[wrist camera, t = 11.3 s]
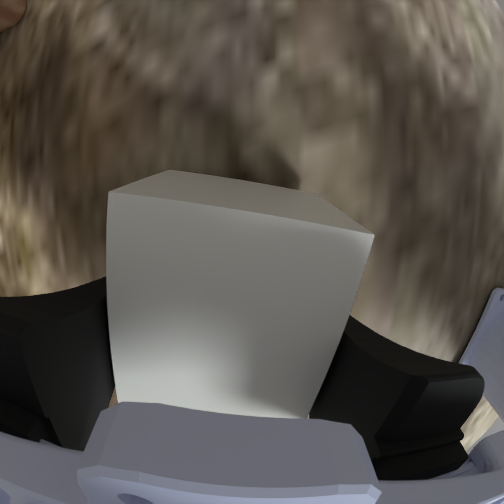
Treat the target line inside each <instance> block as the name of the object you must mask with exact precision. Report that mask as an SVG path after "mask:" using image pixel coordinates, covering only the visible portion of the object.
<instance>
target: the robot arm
mask: <svg viewBox="0 0 504 504" xmlns="http://www.w3.org/2000/svg"><path fill="white" fill-rule="evenodd" d="M114 388H115V379H114V372H113V364H112V356H111V346H110V336H109V323H108V308H107V285H106V277H103V278H101V279H98V280H95V281H92V282H90V283H87V284H84V285H81V286H78V287H75V288H71V289H67V290H63V291H59V292H54V293H47V294H40V295H33V296H21V297H0V504H503V503H504V431H500V432H497V433H495V434H493V435H490V436H488V437H485V438H484V439H483V440H481V441H480V442H479V443H478V444H477V445H476V446H475V447H474V448H473V449H472V451H471V452H470V454H469V455H468V454H467V453H466V451H465V449H464V448H463V446H462V444H461V443H460V440H462V439H463V438H464V434H463V432H462V430H461V429H460V428H461V426H462V425H463V424H464V423H465V421H466V420H467V419H468V417H469V416H470V415H471V413H472V412H473V410H474V409H475V408H476V406H477V405H478V403H479V401H480V400H481V397H482V395H483V396H484V397H485V398H486V399H487V401H488V402H489V403H490V405H491V406H492V407H493V409H494V410H495V411H496V413H497V414H498V415H499V417H500V418H501V419H502V420H503V422H504V289H503V288H495V289H494V290H493V291H492V293H491V296H490V298H489V300H488V303H487V305H486V308H485V310H484V312H483V315H482V317H481V319H480V321H479V323H478V326H477V328H476V330H475V332H474V334H473V336H472V338H471V340H470V342H469V344H468V346H467V348H466V350H465V352H464V354H463V355H462V357H461V359H460V361H459V363H454V362H449V361H444V360H441V359H437V358H434V357H430V356H427V355H424V354H421V353H418V352H416V351H413V350H411V349H408V348H406V347H403V346H401V345H399V344H397V343H395V342H393V341H391V340H389V339H387V338H385V337H383V336H381V335H379V334H378V333H376V332H374V331H373V330H371V329H370V328H368V327H366V326H365V325H363V324H362V323H360V322H359V321H357V320H356V319H355V318H353V317H352V316H350V315H349V318H348V320H347V323H346V326H345V329H344V331H343V334H342V337H341V339H340V342H339V344H338V347H337V349H336V352H335V354H334V357H333V359H332V362H331V364H330V367H329V369H328V372H327V374H326V376H325V379H324V381H323V383H322V386H321V388H320V390H319V392H318V395H317V397H316V399H315V401H314V403H313V406H312V408H311V410H310V412H309V418H310V419H296V418H272V417H257V416H245V415H235V414H226V413H217V412H210V411H203V410H196V409H190V408H183V407H178V406H172V405H167V404H162V403H147V402H128V401H123V402H120V403H118V404H115V405H113V406H111V407H109V408H108V406H109V403H110V400H111V397H112V394H113V391H114Z"/></svg>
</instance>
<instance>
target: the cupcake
mask: <svg viewBox="0 0 504 504" xmlns="http://www.w3.org/2000/svg"><path fill="white" fill-rule="evenodd" d="M26 8H27V1H26V0H0V33H2V32H3V31H5V30H7V29H9V28H11V27H12V26H14V25H15V24H16V23H17V22H18V21H19V20H20V19H21V18H22V16H23V15H24V13H25V11H26Z"/></svg>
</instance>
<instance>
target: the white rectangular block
mask: <svg viewBox="0 0 504 504" xmlns="http://www.w3.org/2000/svg"><path fill="white" fill-rule="evenodd" d="M374 236H375V235H374V234H373V233H371V232H370V231H369V230H367V229H366V228H364V227H363V226H362V225H360V224H359V223H357V222H356V221H355V220H353V219H352V218H350V217H349V216H348V215H346V214H345V213H343V212H342V211H340V210H339V209H337V208H336V207H335V206H333V205H332V204H330V203H329V202H327V201H326V200H324V199H323V198H321V197H320V196H318V195H317V194H314V193H310V192H305V191H300V190H295V189H289V188H284V187H279V186H273V185H268V184H262V183H256V182H251V181H245V180H239V179H232V178H226V177H220V176H213V175H206V174H199V173H192V172H184V171H177V170H167V171H164V172H161V173H158V174H155V175H152V176H149V177H147V178H144V179H141V180H138V181H135V182H133V183H130V184H127V185H125V186H122V187H119V188H117V189H114V190H111V191H109V192H108V207H107V230H106V285H107V308H108V323H109V336H110V346H111V356H112V364H113V372H114V379H115V386H116V393H117V399H118V403H120V402H123V401H128V402H147V403H162V404H167V405H172V406H178V407H183V408H190V409H196V410H203V411H210V412H217V413H226V414H235V415H245V416H257V417H272V418H296V419H306V418H307V416H308V414H309V412H310V410H311V408H312V406H313V403H314V401H315V399H316V397H317V395H318V392H319V390H320V388H321V386H322V383H323V381H324V379H325V376H326V374H327V372H328V369H329V367H330V364H331V362H332V359H333V357H334V354H335V352H336V349H337V347H338V344H339V342H340V339H341V337H342V334H343V331H344V329H345V326H346V323H347V320H348V318H349V315H350V312H351V309H352V306H353V303H354V300H355V298H356V295H357V292H358V289H359V286H360V282H361V279H362V276H363V273H364V270H365V267H366V263H367V260H368V257H369V253H370V250H371V246H372V243H373V239H374Z"/></svg>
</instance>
